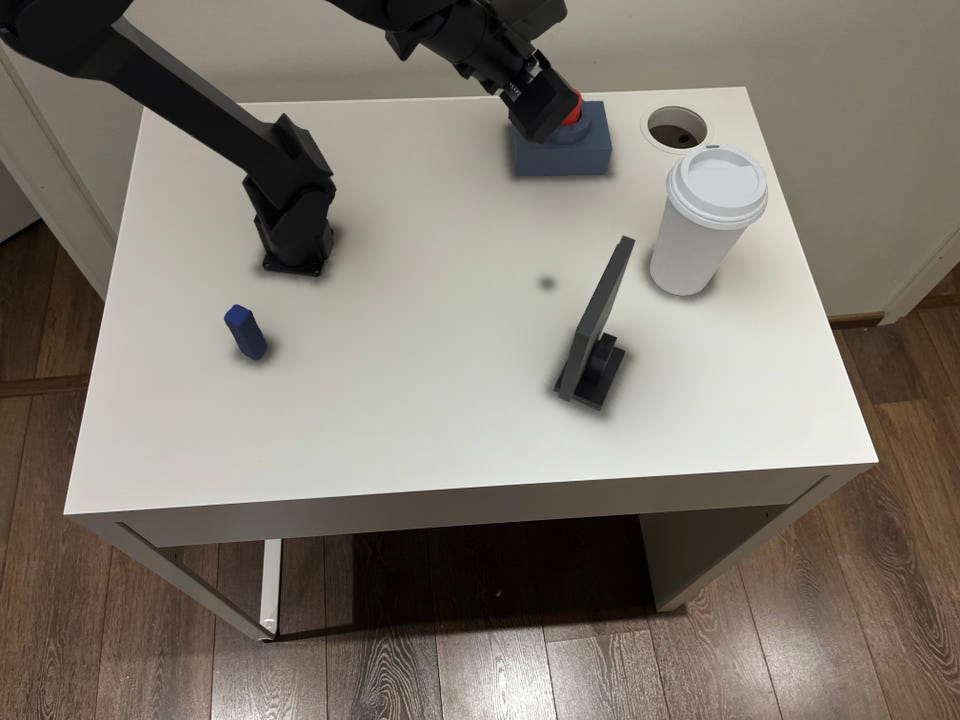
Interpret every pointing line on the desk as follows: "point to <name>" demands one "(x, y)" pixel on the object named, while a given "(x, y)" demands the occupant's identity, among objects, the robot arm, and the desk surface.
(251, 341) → the eraser
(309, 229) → the robot arm
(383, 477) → the desk surface
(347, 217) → the desk surface
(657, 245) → the coffee cup
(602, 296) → the screen
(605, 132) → the switch box
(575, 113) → the power button
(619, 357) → the monitor stand
